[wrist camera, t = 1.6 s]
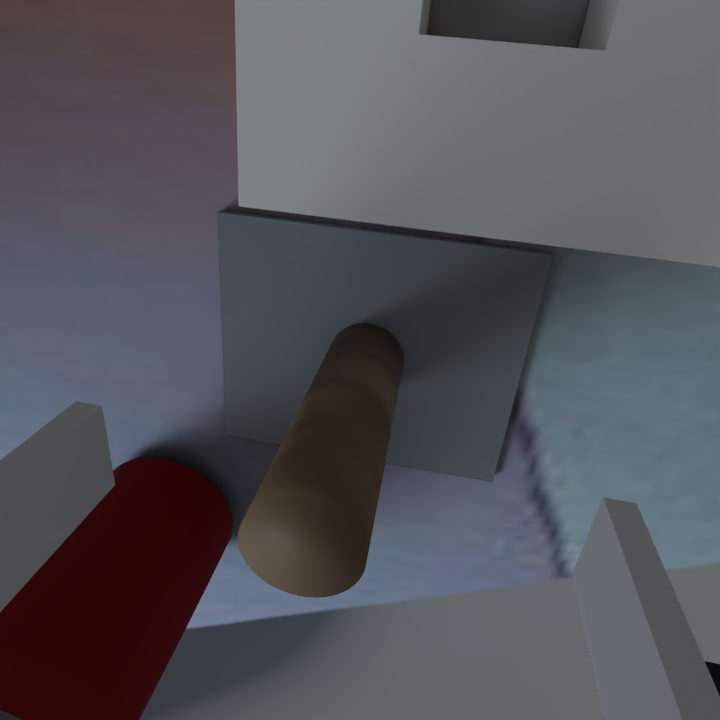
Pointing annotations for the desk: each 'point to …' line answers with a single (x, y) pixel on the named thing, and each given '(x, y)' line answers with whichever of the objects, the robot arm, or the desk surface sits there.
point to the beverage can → (113, 598)
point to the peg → (328, 471)
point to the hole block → (487, 124)
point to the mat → (388, 310)
